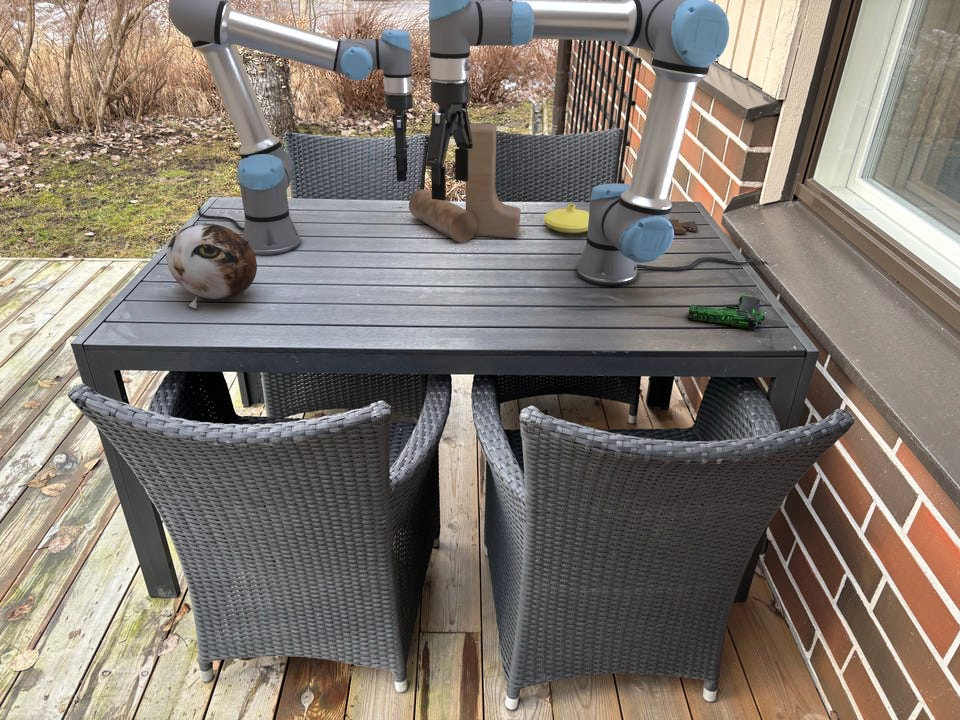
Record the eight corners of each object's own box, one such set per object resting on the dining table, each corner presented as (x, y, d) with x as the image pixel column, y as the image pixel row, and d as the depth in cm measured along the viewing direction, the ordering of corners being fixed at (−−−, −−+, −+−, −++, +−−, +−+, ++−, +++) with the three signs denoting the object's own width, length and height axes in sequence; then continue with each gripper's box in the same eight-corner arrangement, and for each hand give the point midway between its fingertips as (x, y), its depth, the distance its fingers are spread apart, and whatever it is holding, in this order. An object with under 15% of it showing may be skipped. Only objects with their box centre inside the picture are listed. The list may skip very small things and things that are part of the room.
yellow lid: (559, 216, 220) (561, 193, 217) (605, 227, 212) (608, 204, 209) (532, 230, 209) (533, 207, 206) (580, 242, 201) (582, 218, 198)
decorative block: (517, 239, 203) (521, 131, 188) (465, 235, 205) (465, 128, 189) (519, 230, 209) (524, 124, 194) (469, 226, 211) (469, 122, 196)
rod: (403, 208, 213) (419, 183, 212) (423, 223, 219) (439, 199, 218) (445, 232, 196) (463, 205, 195) (465, 248, 202) (482, 221, 202)
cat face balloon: (130, 285, 161) (164, 203, 163) (192, 308, 177) (221, 233, 178) (195, 307, 151) (229, 220, 152) (254, 330, 166) (285, 250, 168)
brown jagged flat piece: (700, 236, 208) (693, 224, 217) (701, 230, 207) (694, 219, 216) (612, 233, 208) (607, 221, 217) (613, 227, 207) (608, 216, 216)
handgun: (768, 297, 166) (764, 322, 154) (765, 309, 168) (761, 335, 156) (697, 286, 172) (687, 310, 159) (695, 297, 173) (685, 322, 161)
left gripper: (411, 100, 184) (414, 187, 196) (413, 85, 202) (416, 165, 214) (382, 100, 184) (387, 187, 196) (386, 85, 202) (390, 166, 214)
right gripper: (445, 93, 125) (446, 210, 136) (488, 71, 146) (486, 174, 156) (405, 90, 127) (410, 205, 138) (453, 69, 148) (454, 171, 158)
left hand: (402, 176), depth 205 cm, fingers open, 8 cm apart
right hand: (450, 189), depth 147 cm, fingers open, 13 cm apart
